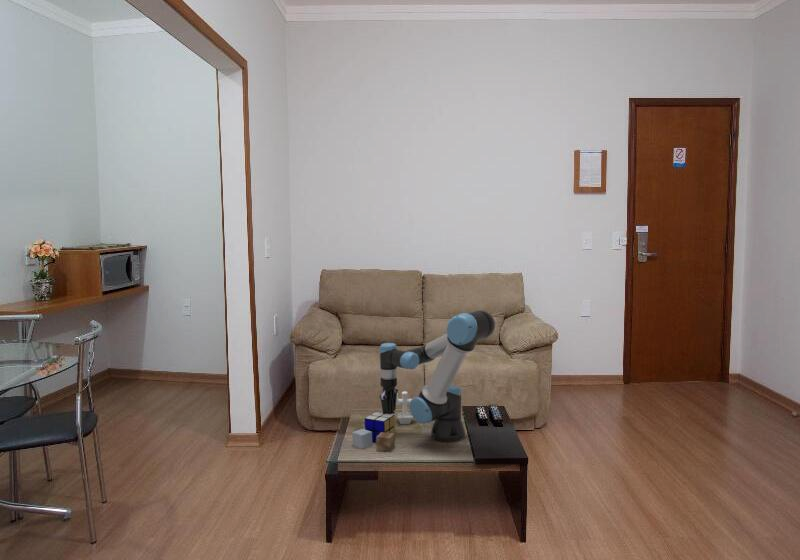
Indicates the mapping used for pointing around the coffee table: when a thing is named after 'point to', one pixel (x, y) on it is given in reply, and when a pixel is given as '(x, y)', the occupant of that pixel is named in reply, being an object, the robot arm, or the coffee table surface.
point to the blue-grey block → (362, 438)
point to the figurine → (404, 409)
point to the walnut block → (385, 442)
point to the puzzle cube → (380, 424)
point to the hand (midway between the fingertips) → (389, 427)
